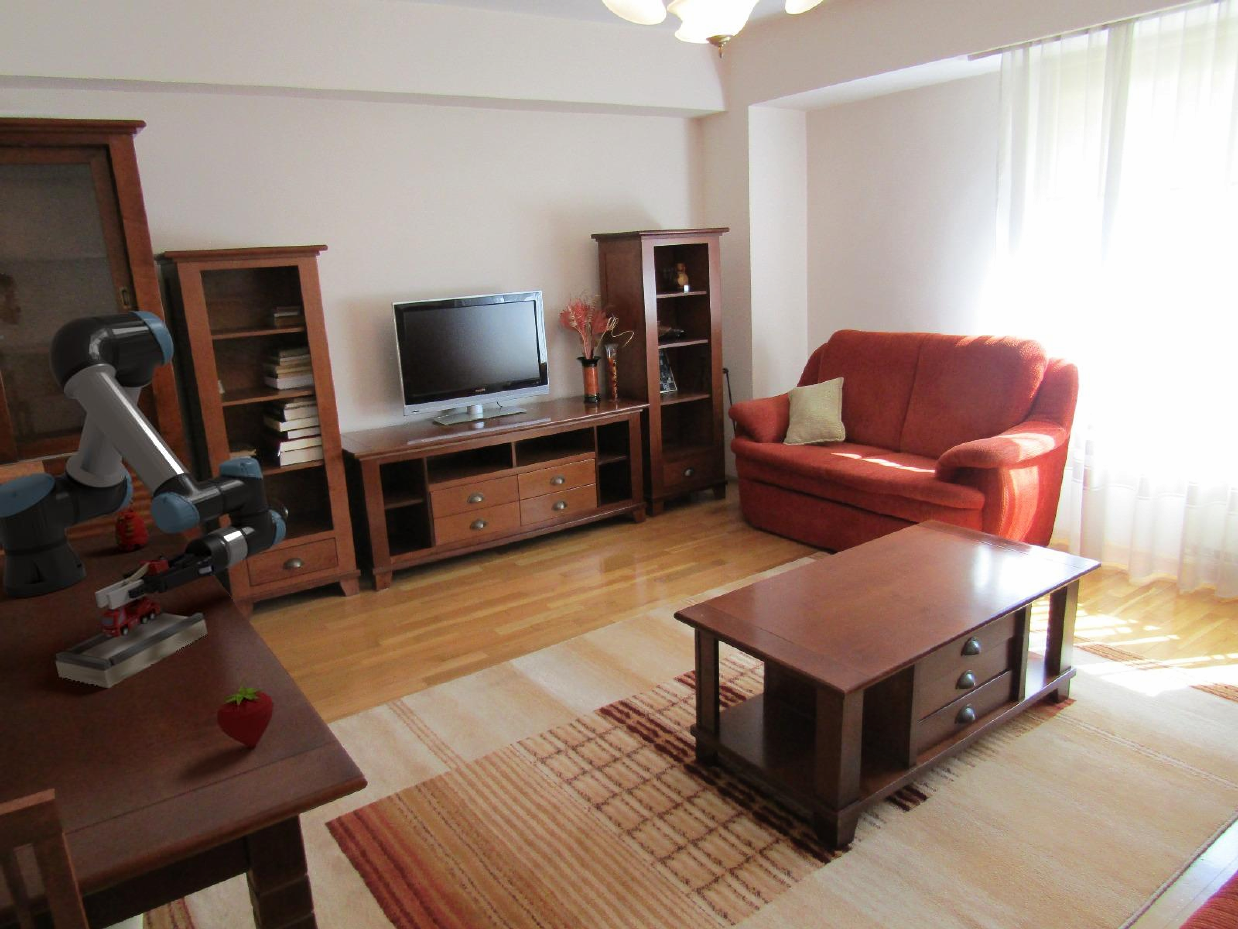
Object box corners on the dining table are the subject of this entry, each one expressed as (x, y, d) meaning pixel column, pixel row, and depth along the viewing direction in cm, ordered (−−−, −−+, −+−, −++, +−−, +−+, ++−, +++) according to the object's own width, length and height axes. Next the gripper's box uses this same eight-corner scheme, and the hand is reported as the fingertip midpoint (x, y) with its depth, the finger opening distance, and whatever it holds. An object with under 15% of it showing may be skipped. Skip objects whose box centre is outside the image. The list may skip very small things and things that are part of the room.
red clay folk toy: (113, 548, 211) (99, 489, 207) (143, 540, 216) (130, 481, 212) (125, 554, 206) (112, 494, 202) (156, 545, 211) (143, 486, 207)
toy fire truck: (101, 638, 148) (90, 586, 145) (161, 605, 161) (152, 556, 158) (117, 640, 147) (107, 587, 145) (176, 606, 160) (167, 557, 157)
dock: (160, 626, 165) (156, 606, 164) (207, 634, 160) (203, 613, 159) (59, 677, 147) (53, 655, 146) (108, 688, 142) (103, 665, 141)
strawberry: (217, 748, 123) (204, 684, 120) (271, 727, 128) (259, 665, 125) (231, 766, 119) (217, 700, 116) (286, 743, 123) (274, 679, 121)
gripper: (248, 573, 166) (139, 626, 145) (190, 566, 172) (78, 616, 151) (241, 536, 164) (130, 584, 143) (183, 530, 170) (68, 576, 149)
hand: (104, 600), depth 147 cm, fingers closed on toy fire truck, 2 cm apart
